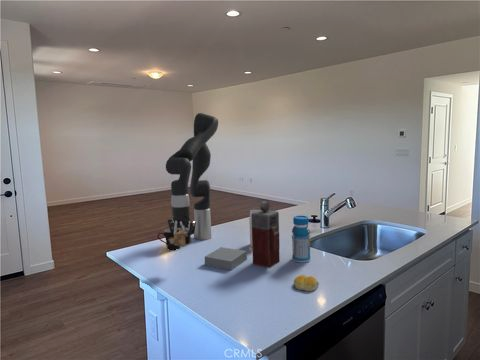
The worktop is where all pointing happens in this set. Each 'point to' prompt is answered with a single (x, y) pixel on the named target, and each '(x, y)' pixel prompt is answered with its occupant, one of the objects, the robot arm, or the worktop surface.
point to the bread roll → (306, 283)
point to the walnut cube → (180, 239)
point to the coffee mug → (169, 239)
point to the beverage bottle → (301, 239)
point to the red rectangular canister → (265, 236)
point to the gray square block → (226, 258)
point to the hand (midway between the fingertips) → (182, 242)
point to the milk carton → (251, 225)
